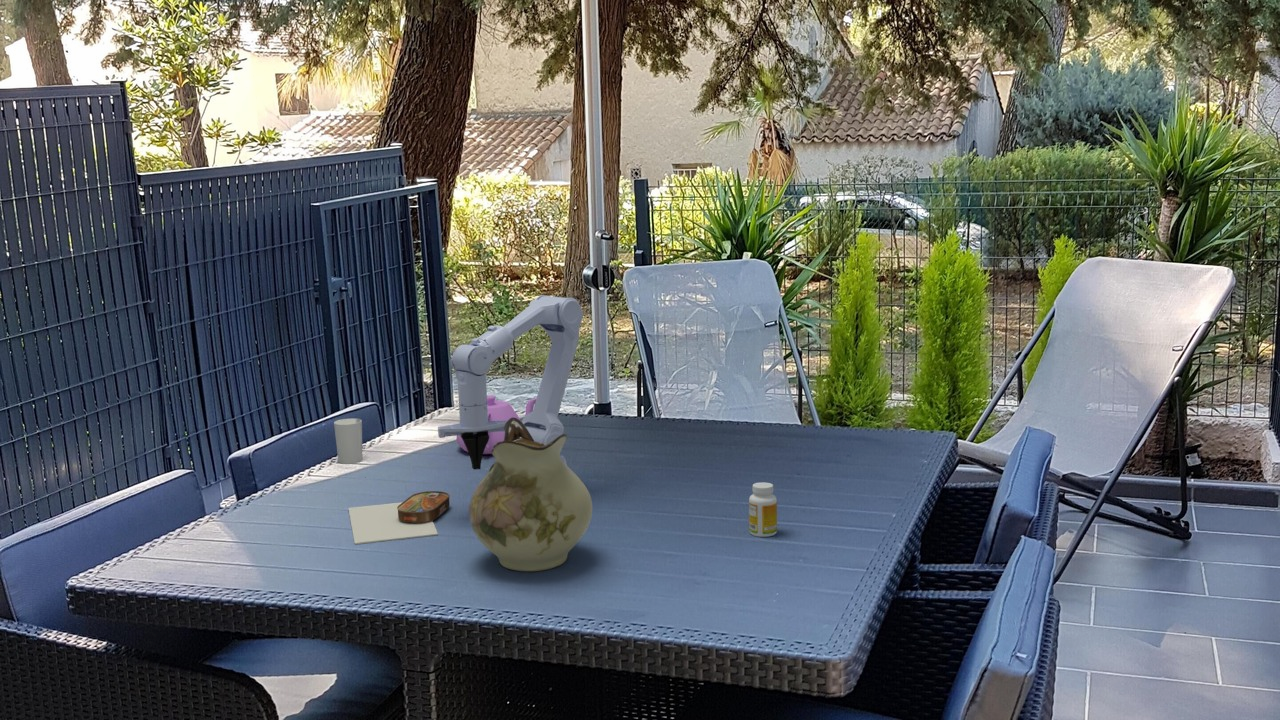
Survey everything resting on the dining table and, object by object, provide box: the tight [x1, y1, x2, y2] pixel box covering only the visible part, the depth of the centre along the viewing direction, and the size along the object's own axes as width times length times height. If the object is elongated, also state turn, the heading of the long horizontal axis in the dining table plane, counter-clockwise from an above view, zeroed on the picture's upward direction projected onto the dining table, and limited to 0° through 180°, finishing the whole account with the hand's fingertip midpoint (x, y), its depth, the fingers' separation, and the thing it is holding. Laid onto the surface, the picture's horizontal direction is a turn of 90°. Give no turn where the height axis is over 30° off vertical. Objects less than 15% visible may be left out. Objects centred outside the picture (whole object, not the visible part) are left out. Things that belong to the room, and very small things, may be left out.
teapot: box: [456, 394, 537, 455], centre depth 294 cm, size 22×22×14 cm
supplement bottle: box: [748, 481, 778, 538], centre depth 226 cm, size 5×5×10 cm
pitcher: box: [468, 417, 593, 572], centre depth 212 cm, size 22×24×25 cm
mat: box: [348, 501, 439, 545], centre depth 238 cm, size 16×24×1 cm, turn 17°
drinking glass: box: [333, 418, 363, 465], centre depth 286 cm, size 7×7×10 cm
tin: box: [397, 490, 450, 523], centre depth 242 cm, size 15×3×8 cm
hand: (476, 468), depth 239 cm, fingers closed
